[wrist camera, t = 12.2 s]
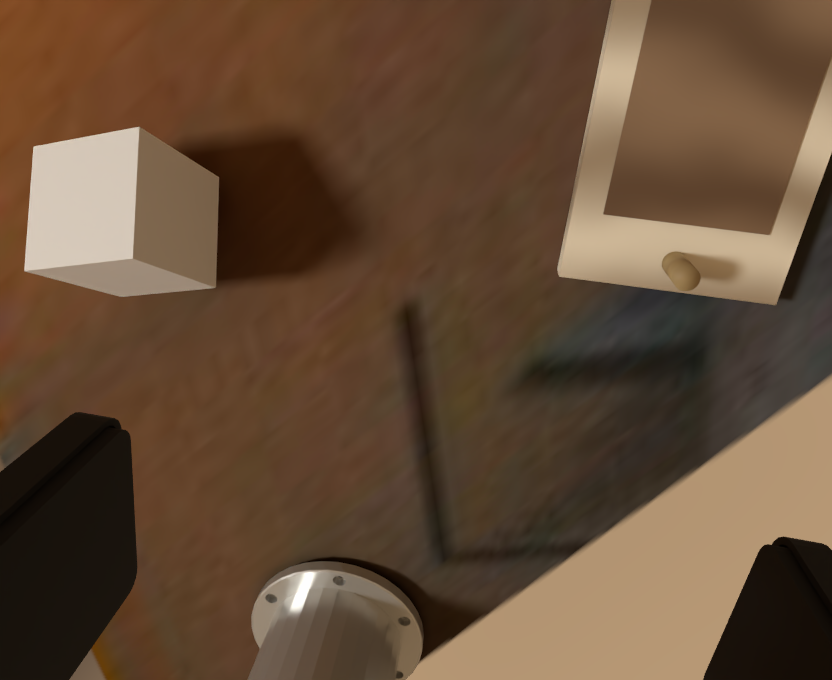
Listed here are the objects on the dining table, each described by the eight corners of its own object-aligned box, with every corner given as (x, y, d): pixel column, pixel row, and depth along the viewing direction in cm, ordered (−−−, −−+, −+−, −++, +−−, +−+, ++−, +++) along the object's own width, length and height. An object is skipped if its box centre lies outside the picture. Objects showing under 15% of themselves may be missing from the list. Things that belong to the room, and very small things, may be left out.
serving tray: (767, 296, 34) (796, 324, 30) (557, 269, 34) (563, 293, 31) (984, -313, 23) (1065, -372, 20) (679, -333, 24) (707, -394, 21)
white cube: (121, 297, 35) (23, 271, 29) (126, 191, 36) (32, 146, 30) (216, 288, 33) (132, 258, 27) (219, 177, 34) (138, 125, 28)
